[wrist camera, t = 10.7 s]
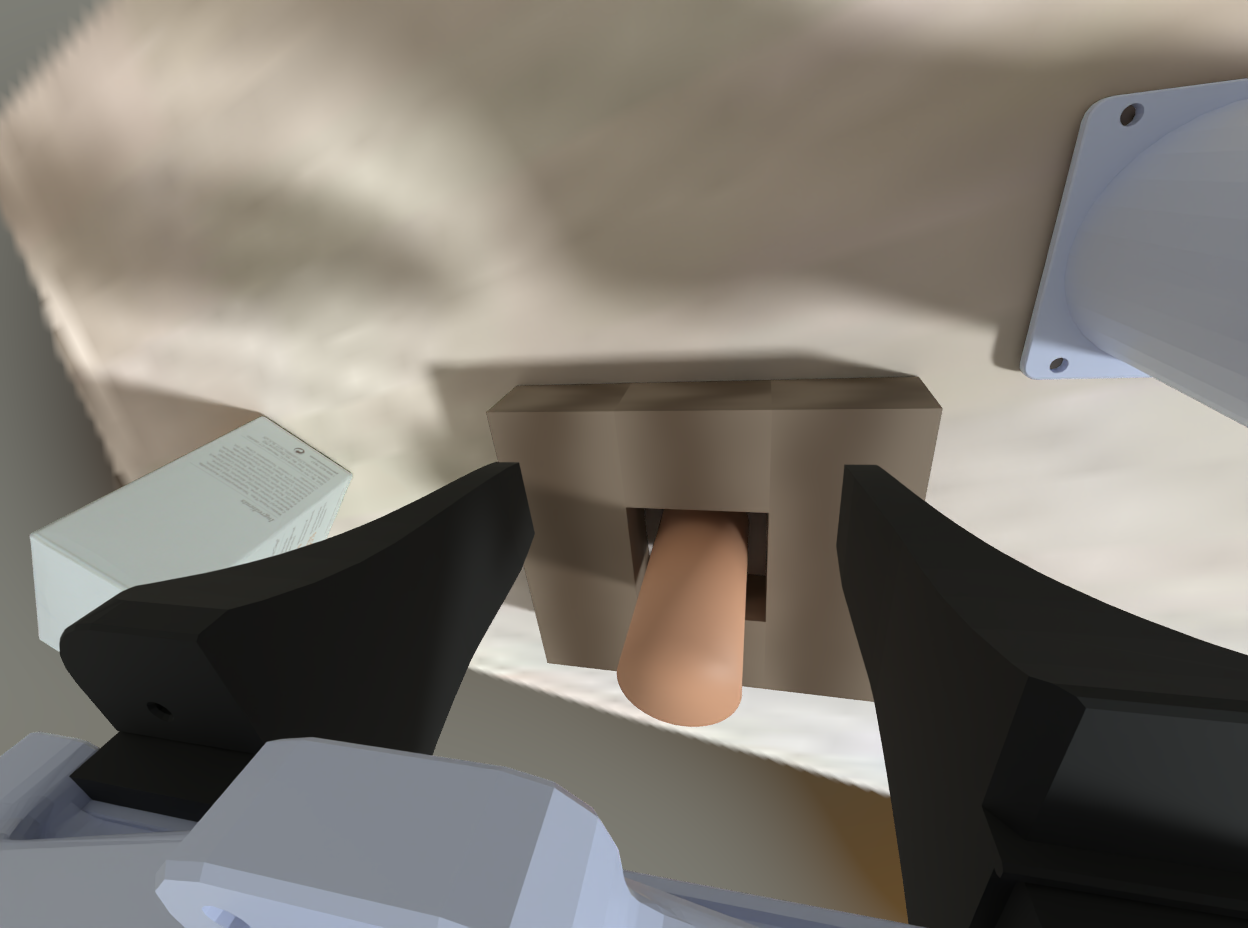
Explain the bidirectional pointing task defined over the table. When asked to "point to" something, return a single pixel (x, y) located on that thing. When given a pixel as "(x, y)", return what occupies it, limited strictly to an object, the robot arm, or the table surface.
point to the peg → (690, 620)
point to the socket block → (707, 504)
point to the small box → (187, 521)
